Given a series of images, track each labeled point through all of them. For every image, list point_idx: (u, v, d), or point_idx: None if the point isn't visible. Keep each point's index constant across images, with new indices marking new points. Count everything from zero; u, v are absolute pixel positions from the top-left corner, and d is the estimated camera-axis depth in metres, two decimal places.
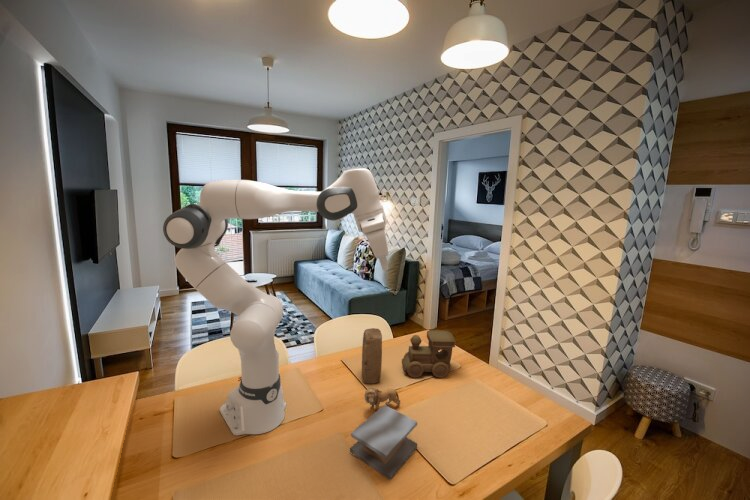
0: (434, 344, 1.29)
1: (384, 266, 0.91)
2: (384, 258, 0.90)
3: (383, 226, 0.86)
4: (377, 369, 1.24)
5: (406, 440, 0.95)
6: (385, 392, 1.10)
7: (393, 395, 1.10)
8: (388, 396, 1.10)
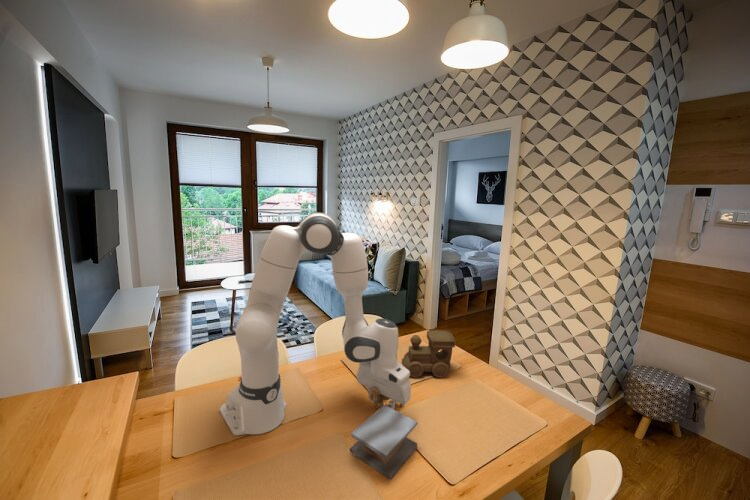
0: (434, 344, 1.29)
1: (393, 406, 1.07)
2: None
3: None
4: None
5: (406, 440, 0.95)
6: None
7: None
8: None
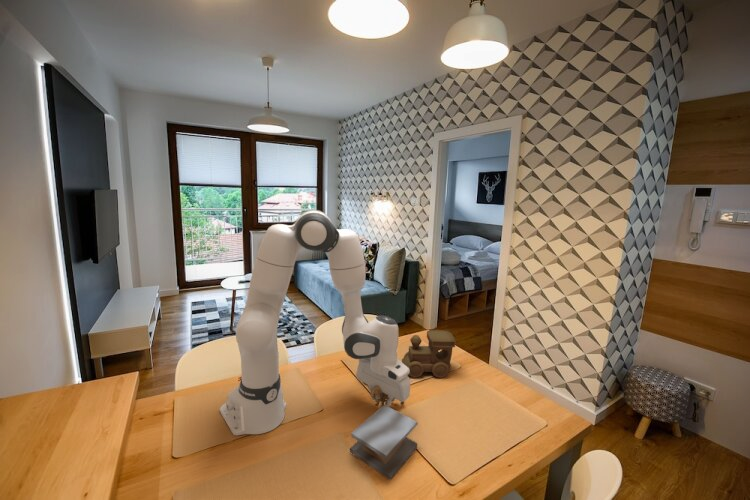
0: (434, 344, 1.29)
1: (389, 402, 1.08)
2: None
3: (408, 373, 1.05)
4: None
5: (406, 440, 0.95)
6: None
7: None
8: None
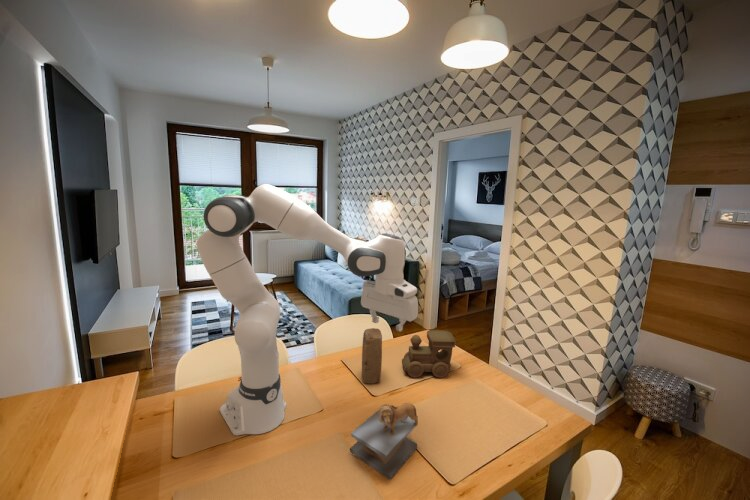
0: (434, 344, 1.29)
1: (401, 327, 1.01)
2: (405, 320, 1.00)
3: None
4: (377, 369, 1.24)
5: (406, 440, 0.95)
6: (401, 408, 0.91)
7: (411, 411, 0.91)
8: (405, 412, 0.91)
